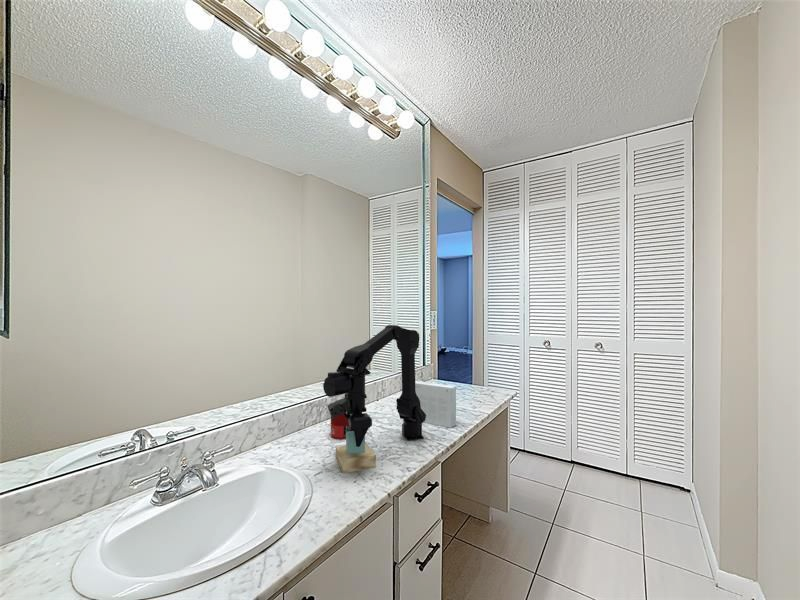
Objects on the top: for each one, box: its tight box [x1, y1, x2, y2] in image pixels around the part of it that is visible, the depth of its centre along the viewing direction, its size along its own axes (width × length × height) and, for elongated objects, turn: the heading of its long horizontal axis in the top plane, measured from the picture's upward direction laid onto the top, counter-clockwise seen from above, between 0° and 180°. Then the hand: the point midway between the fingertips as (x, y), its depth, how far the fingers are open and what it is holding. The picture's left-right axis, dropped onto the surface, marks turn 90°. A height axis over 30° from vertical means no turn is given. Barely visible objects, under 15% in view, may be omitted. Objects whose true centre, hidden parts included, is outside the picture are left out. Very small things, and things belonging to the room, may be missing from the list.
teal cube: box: [345, 431, 366, 455], centre depth 103 cm, size 5×5×5 cm
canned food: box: [330, 414, 350, 440], centre depth 125 cm, size 8×8×11 cm
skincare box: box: [415, 380, 457, 429], centre depth 141 cm, size 21×5×16 cm, turn 58°
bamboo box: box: [335, 441, 377, 474], centre depth 103 cm, size 10×10×4 cm
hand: (355, 441), depth 103 cm, fingers open, 8 cm apart
